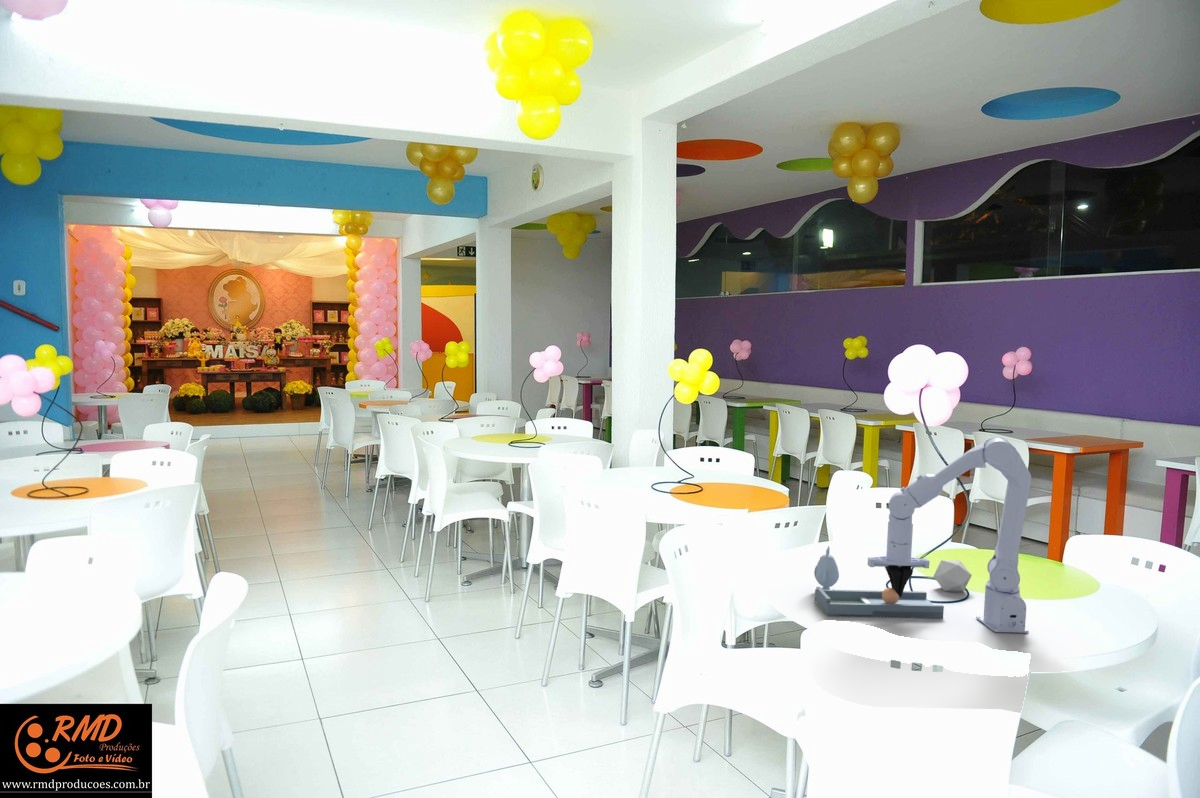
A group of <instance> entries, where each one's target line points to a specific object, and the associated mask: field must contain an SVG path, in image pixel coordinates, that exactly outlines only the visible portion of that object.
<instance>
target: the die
mask: <svg viewBox="0 0 1200 798" xmlns="http://www.w3.org/2000/svg"><path fill="white" fill-rule="evenodd" d="M972 577H973V576H972V574H971V572H970V571H969V569H968V568H967V567H966V565H964V563H963V562H962V561H961V560H957V559H956V560H955V559H952V560H951V559H950V560H949V559H941V560H940V562H939V564H938V565H937V568H936V570H935V572H934V574H933V578H934V579H935V581H936V582H937V583H938V585H939V586H940V588H942V590H943V591H944V592H955V591H965V589H966V588H967V586H968V584H969V582H970V580H971V578H972Z"/></svg>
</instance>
